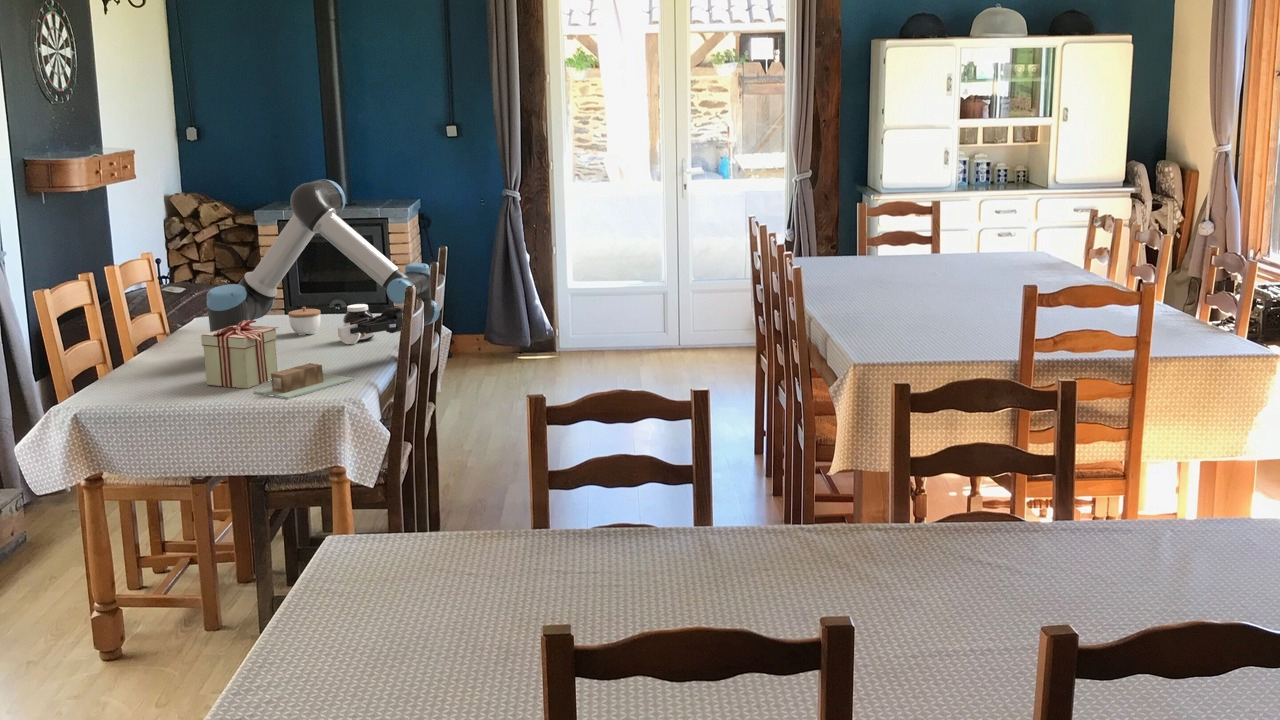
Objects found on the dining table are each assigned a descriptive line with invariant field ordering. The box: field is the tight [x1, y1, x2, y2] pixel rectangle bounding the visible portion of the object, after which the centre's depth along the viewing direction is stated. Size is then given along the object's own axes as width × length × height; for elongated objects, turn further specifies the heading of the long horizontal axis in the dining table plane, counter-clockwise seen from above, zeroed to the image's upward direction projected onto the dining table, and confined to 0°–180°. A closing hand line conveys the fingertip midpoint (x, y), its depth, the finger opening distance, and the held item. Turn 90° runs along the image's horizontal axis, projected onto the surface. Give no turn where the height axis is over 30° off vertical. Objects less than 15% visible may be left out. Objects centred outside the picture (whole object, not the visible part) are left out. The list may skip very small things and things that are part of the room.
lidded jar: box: [287, 306, 322, 336], centre depth 421 cm, size 11×11×9 cm
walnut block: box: [271, 362, 324, 393], centre depth 344 cm, size 5×5×14 cm
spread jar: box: [339, 303, 376, 345], centre depth 405 cm, size 12×11×12 cm
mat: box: [254, 373, 355, 399], centre depth 346 cm, size 24×14×1 cm, turn 146°
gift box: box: [200, 320, 280, 389], centre depth 353 cm, size 17×18×17 cm
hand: (339, 332), depth 355 cm, fingers closed
